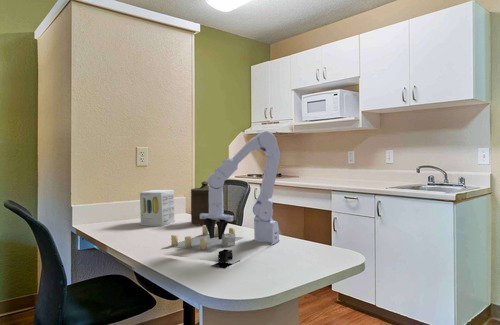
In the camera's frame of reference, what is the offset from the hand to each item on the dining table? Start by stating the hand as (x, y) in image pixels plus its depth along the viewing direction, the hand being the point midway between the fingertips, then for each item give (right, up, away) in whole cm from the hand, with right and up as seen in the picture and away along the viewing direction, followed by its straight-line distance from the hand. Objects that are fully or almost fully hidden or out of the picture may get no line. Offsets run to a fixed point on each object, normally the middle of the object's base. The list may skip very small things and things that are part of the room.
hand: (216, 238), depth 137 cm
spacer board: (-4, -3, +2) cm, 5 cm away
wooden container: (-11, -3, +49) cm, 50 cm away
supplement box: (-36, -3, +50) cm, 62 cm away
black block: (+5, -4, -23) cm, 24 cm away
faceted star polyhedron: (+5, -2, -2) cm, 6 cm away
